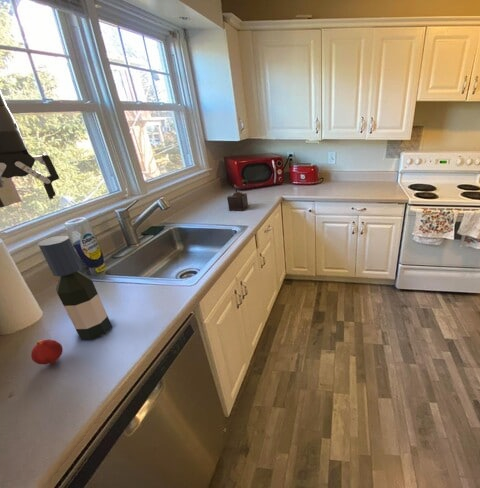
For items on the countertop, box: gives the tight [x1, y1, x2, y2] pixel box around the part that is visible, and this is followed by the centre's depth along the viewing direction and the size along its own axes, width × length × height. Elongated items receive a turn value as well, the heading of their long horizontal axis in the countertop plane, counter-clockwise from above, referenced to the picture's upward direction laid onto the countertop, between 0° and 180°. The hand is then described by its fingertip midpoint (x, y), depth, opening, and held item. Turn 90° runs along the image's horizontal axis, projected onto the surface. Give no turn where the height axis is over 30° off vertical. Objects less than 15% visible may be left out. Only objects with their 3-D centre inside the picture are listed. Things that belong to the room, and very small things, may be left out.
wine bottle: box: [55, 270, 113, 341], centre depth 79 cm, size 8×8×30 cm
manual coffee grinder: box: [226, 179, 249, 212], centre depth 190 cm, size 16×11×18 cm
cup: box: [37, 235, 83, 277], centre depth 74 cm, size 6×6×9 cm
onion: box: [30, 339, 64, 365], centre depth 73 cm, size 6×6×8 cm
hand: (27, 202), depth 67 cm, fingers open, 8 cm apart
